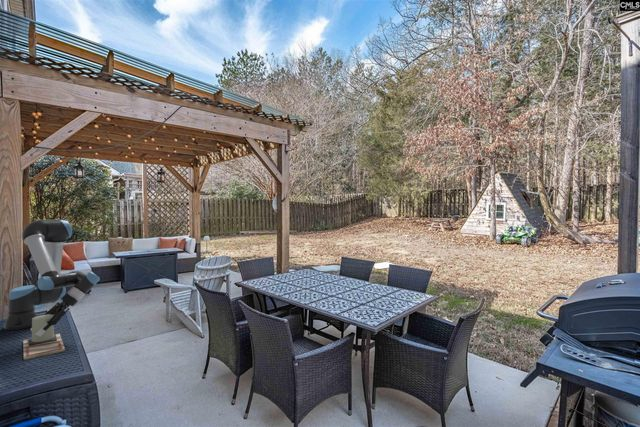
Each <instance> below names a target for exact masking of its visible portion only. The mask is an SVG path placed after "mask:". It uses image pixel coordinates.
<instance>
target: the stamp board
mask: <svg viewBox="0 0 640 427" xmlns="http://www.w3.org/2000/svg"><path fill="white" fill-rule="evenodd" d="M31 340H32V337H29V338H27V339H23V340H22V343H23V344H22V346H23V361H27V360H31V359H35V358H40V357H45V356H49V355H53V354H58V353H62V352H65V351H66V347H65V345H64V342H63V339H62V337H61V334H60V332H59V333H55V332H54V338H52V339H50V340H46V341H42V342H32V341H31Z"/></svg>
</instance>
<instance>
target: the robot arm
mask: <svg viewBox="0 0 640 427" xmlns="http://www.w3.org/2000/svg"><path fill="white" fill-rule="evenodd" d="M72 235H73V229H72V225H71V223H70V222H69V221H68V220H65V219H63V220H62V219H46V220H45V219H44V220H43V219H42V220H41V219H40V220H39V219H38V220H33V221H31V222H30V223H28V224H27V225H26V226H25V227H24V228H23V231H22V232H21V236H22V237H21V238H22V242H23V244H25V245H26V246H27V247H28V250H29V251H30V254H31V257H32V259H33V261H34V263H35V267H36V269H37V271H38V273H39V274H38V275H39V276H40V277H39V278H38V280H37V286H35V285H34V284H31V285H30V284H29V285H23V286H18V287H15V288H13V289H11V290H10V291H9V293H8V297H7V298H8V299H7V300H8V311H7V312H8V315H7V317H6V319H5V322H4V323H3V329H4V330H7V331H15V330H16V331H17V330H24V329H28V328H30V331H31V332H32V318H34V317H36V316H37V313H36V306H42V305H46V304H54V303H56V304H54V305H53V306H52V307H51V308H49V310H47V311H46V312H45V313H44V314H43V315H48V314H52V315H53V317H52V318H51V319H50V321H48V322H47V323H46V324H45V325H44V326H43V327H42V328H41V329H40V330H39V331H38V332H37V333H35V334H36V335H38V336H39V337H41V336H42V335H43V334H44V333H45V332H46V331H47V330H48V329H49V328H50V327H51V325H54V326H56V325H57V324H58V322H59V321H60V320H61V319H62V318H63V317H64V316H65V315H66V313H67V312H69V311H70V308H69V307H74V306H76V304H77V303H78V302H79V301H81V299H82V298H84V296H85V295H86V294H88V292H89V291H91V289H92V288H94V286H96V284H98V282H100V279H101V278H100V277H99V276H98V275H97V274H95V273H94V272H92V271H89V272H87V273H84V272H82V271H79V270H71V271H69V272H68V273H62V274H61V269H62V260H63V251H64V244H66V243H67V241H68V239H69V238H71V237H72ZM66 287H67V288H68V287H71V288H70V289H69V290H68V291H66V290H67V289H66ZM66 292H67V293H66ZM60 301H61V302H60Z"/></svg>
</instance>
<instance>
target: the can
mask: <svg viewBox="0 0 640 427" xmlns="http://www.w3.org/2000/svg"><path fill="white" fill-rule="evenodd" d="M52 317H53V315H52V314H48V315H44V314H41V315H36V317H34V318H32V327H31V328H32V331H31V338H32V340H31V341H32V342H42V341H46V340H50V339H52V338H54V333H55V325H51V327H50V328H49V329H48V330H47V331H46V332H45V333H44V334H43V335H42V336H41V337H39V336H38V335H36V334H35V333H37V332H38V331H39V330H40V329H41V328H42V327H43V326H44V325H45V324H46V323H47V322H48V321H50V319H51V318H52Z"/></svg>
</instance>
